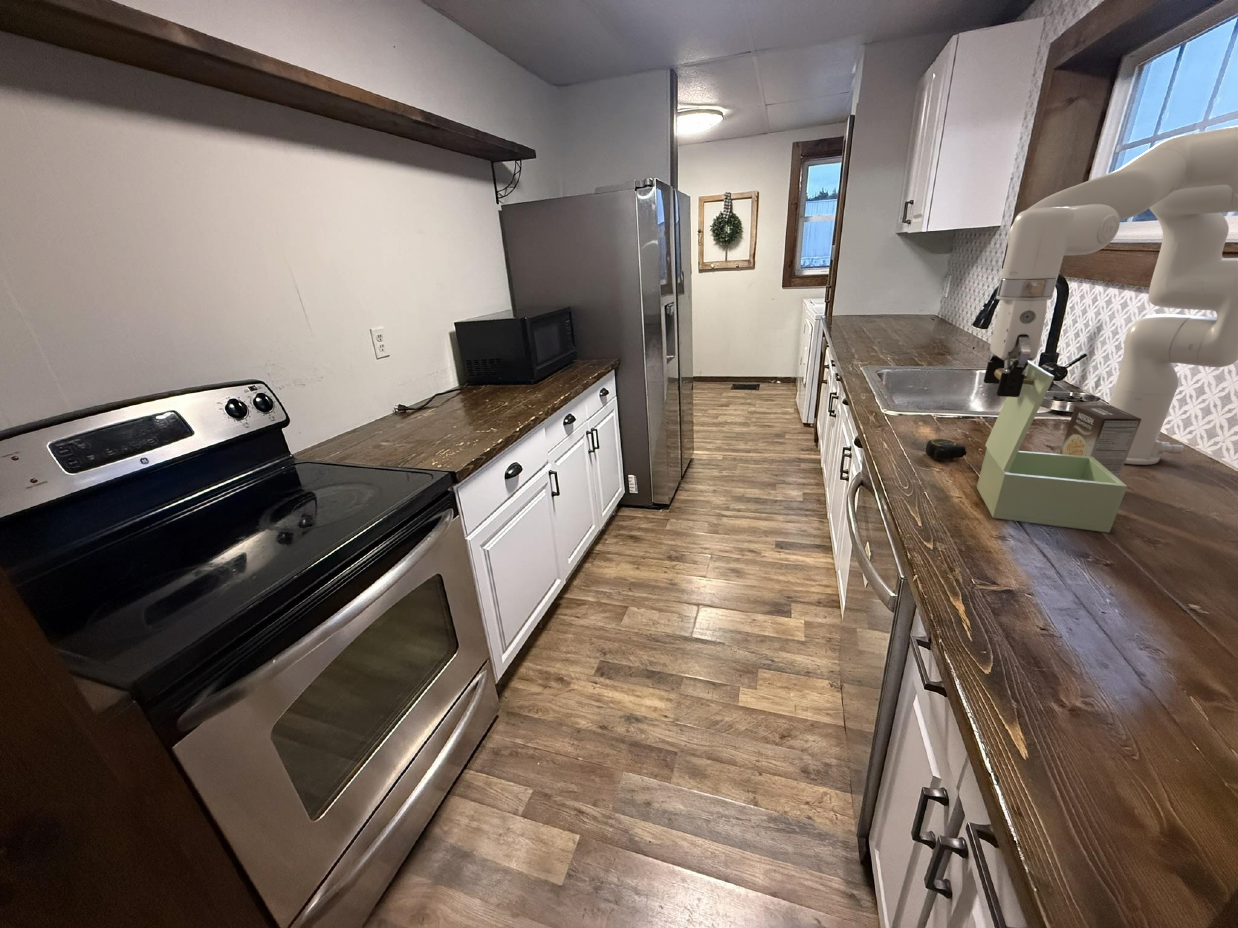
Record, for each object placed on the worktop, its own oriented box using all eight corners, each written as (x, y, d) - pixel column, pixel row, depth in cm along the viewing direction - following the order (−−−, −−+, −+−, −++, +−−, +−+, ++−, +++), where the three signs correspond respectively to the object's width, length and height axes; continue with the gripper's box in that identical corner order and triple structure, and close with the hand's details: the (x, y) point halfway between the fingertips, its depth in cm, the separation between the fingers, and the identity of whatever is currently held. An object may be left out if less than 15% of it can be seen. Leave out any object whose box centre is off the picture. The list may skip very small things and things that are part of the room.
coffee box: (1050, 476, 107) (1072, 404, 101) (1084, 477, 106) (1109, 404, 100) (1076, 494, 99) (1103, 417, 93) (1114, 496, 97) (1144, 418, 91)
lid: (1028, 360, 92) (994, 354, 94) (1054, 376, 81) (1014, 370, 82) (989, 446, 100) (958, 439, 102) (1008, 472, 88) (972, 464, 90)
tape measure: (937, 464, 116) (941, 449, 114) (917, 453, 122) (920, 439, 120) (964, 461, 116) (968, 446, 115) (943, 451, 123) (946, 436, 121)
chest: (1078, 498, 97) (1092, 456, 94) (1109, 532, 86) (1127, 486, 82) (976, 487, 104) (986, 447, 100) (992, 517, 92) (1004, 474, 89)
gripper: (1073, 293, 75) (1041, 403, 81) (1036, 286, 89) (1012, 379, 96) (1012, 294, 78) (986, 400, 84) (986, 287, 92) (966, 378, 99)
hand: (1000, 389), depth 90 cm, fingers open, 9 cm apart
